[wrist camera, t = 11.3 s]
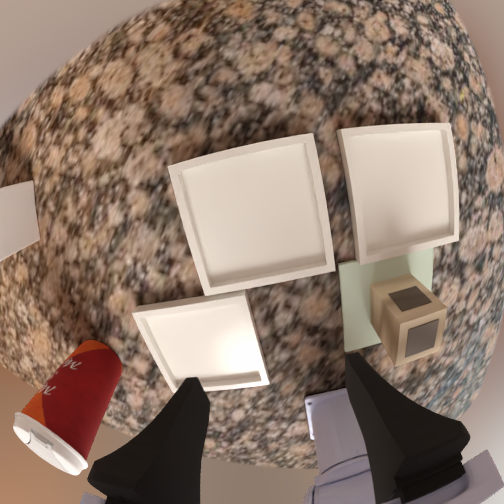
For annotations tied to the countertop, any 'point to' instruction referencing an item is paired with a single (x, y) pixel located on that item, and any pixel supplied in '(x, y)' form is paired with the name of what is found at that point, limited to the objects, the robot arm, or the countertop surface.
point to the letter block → (407, 318)
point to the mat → (358, 291)
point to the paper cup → (70, 407)
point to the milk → (17, 218)
